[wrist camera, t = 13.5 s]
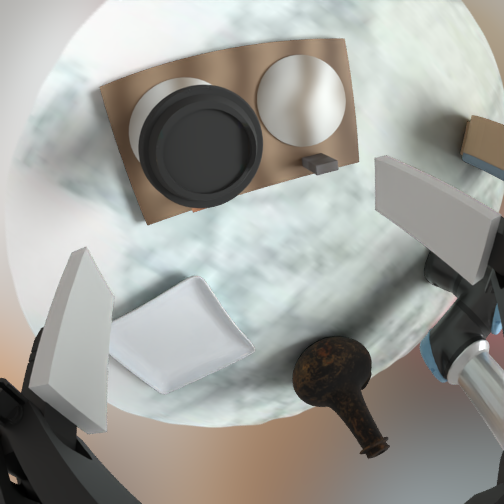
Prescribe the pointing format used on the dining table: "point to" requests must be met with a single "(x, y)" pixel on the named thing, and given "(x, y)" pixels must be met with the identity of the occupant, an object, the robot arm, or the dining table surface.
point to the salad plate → (178, 337)
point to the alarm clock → (484, 146)
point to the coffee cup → (201, 146)
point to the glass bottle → (340, 386)
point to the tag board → (261, 101)
